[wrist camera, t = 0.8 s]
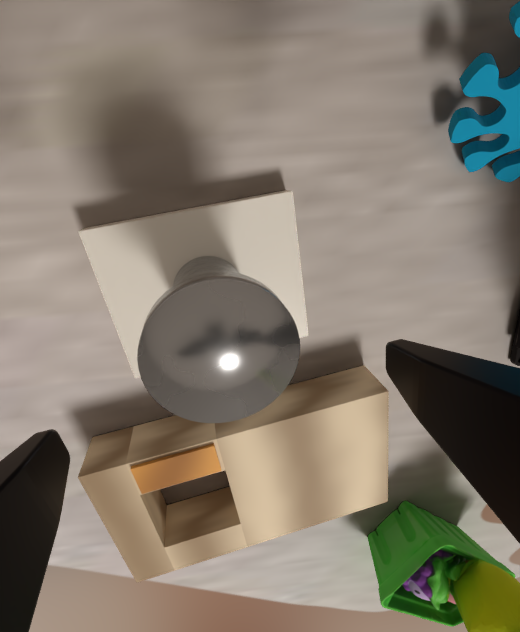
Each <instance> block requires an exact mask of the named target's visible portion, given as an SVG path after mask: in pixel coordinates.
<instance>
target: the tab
mask: <svg viewBox="0 0 520 632" xmlns="http://www.w3.org/2000/svg"><path fill="white" fill-rule="evenodd" d="M79 235H80V237H81V240H82V242H83V245H84V248H85V250H86V253H87V255H88V258H89V261H90V263H91V266H92V268H93V271H94V273H95V276H96V279H97V281H98V284H99V286H100V289H101V292H102V294H103V297H104V299H105V302H106V305H107V307H108V310H109V312H110V315H111V318H112V320H113V323H114V325H115V328H116V330H117V333H118V336H119V338H120V341H121V343H122V346H123V349H124V351H125V354H126V356H127V359H128V362H129V364H130V367H131V369H132V372H133V374H134V377H135V378H139V377H141V376H140V373H139V369H138V361H137V353H138V345H139V340H140V336H141V333H142V329H143V326H144V323H145V320H146V317H147V315H148V313H149V312H150V310H151V308H152V307H153V305H154V304H155V302H156V301H157V300H158V299H159V298H160V297H161V296H162V295H163V294H164V293H165V292H166V291H167V290H168V289H170V288H171V287H172V286H173V283H174V279H175V277H176V275H177V273H178V271H179V270H180V269H181V268H182V267H183V266H184V265H185V264H186V263H187V262H189V261H191V260H192V259H195V258H198V257H202V256H215V257H219V258H222V259H224V260H226V261H228V262H229V263H231V264H232V265H233V266H234V267H235V268H236V269H237V270H238V272H239V274H242V275H246V276H248V277H251V278H254V279H256V280H257V281H259V282H261V283H263V284H264V285H265V286H267V287H268V288H269V289H271V290H272V291H273V292H274V293H275V294H276V295H277V297H278V298H279V299H280V301H281V302H282V303H283V304H284V306H285V307H286V308H287V310H288V311H289V312H290V314H291V316H292V318H293V319H294V321H295V324H296V327H297V329H298V333H299V338H301V337H305V336H309V334H308V325H307V316H306V307H305V298H304V289H303V280H302V271H301V262H300V253H299V244H298V235H297V226H296V217H295V208H294V199H293V191H288V190H285V191H279V192H274V193H269V194H263V195H258V196H253V197H247V198H242V199H237V200H231V201H226V202H221V203H215V204H210V205H205V206H199V207H194V208H189V209H184V210H178V211H173V212H168V213H162V214H157V215H152V216H146V217H141V218H136V219H130V220H125V221H120V222H114V223H109V224H104V225H98V226H93V227H88V228H85V229H83V230H81V231H79Z"/></svg>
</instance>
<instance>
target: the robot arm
mask: <svg viewBox="0 0 520 632" xmlns="http://www.w3.org/2000/svg"><path fill="white" fill-rule="evenodd" d="M510 361H511V362H512V363H513V364H515V365H517V366H520V311H519V316H518V321H517V327H516V332H515V337H514V343H513V348H512V353H511V359H510ZM386 370H387V373H388V375H389V377H390V378H391V380H392V381H393V383H394V385H395V386H396V388H397V389H398V391H399V392H400V394H401V395H402V397H403V398H404V400H405V401H406V403H407V404H408V406H409V407H410V409H411V410H412V412H413V413H414V415H415V416H416V418H417V419H418V420H419V421H420V423H421V424H422V425H423V426H424V428H425V429H426V430H427V431H428V433H429V434H430V435H431V436H432V437H433V439H434V440H435V441H436V442H437V444H438V445H439V446H440V447H441V448H442V450H443V451H444V452H445V453H446V454H447V456H448V457H449V458H450V459H451V461H452V462H453V463H454V464H455V465H456V467H457V468H458V469H459V470H460V472H461V473H462V474H463V475H464V476H465V478H466V479H467V480H468V481H469V482H470V484H471V485H472V486H473V487H474V489H475V490H476V491H477V492H478V493H479V495H480V496H481V497H482V498H483V500H484V501H485V502H486V503H487V504H488V506H489V507H490V508H491V509H492V510H493V512H494V513H495V514H496V515H497V517H498V518H499V519H500V520H501V521H502V523H503V524H504V525H505V526H506V528H507V529H508V530H509V531H510V532H511V534H512V535H513V536H514V537H515V538H516V540H517V541H518V542H519V543H520V368H516V367H512V366H508V365H504V364H500V363H496V362H492V361H488V360H484V359H480V358H476V357H472V356H468V355H464V354H460V353H456V352H451V351H447V350H443V349H439V348H435V347H431V346H427V345H423V344H419V343H415V342H411V341H407V340H403V339H399V340H395V341H391V342H388V343H387V345H386ZM69 464H70V455H69V452H68V450H67V448H66V447H65V445H64V443H63V441H62V439H61V438H60V436H59V434H58V432H57V431H55V430H53V429H51V430H47V431H43V432H39V433H36V434H34V435H33V436H32V437H30V438H29V439H28V440H27V441H25V442H24V443H23V444H22V445H20V446H19V447H18V448H16V449H15V450H14V451H13V452H11V453H10V454H9V455H8V456H6V457H5V458H4V459H3V460H1V461H0V632H29V629H30V625H31V622H32V618H33V614H34V611H35V607H36V604H37V600H38V597H39V593H40V590H41V586H42V583H43V579H44V575H45V572H46V568H47V565H48V561H49V558H50V554H51V551H52V547H53V544H54V540H55V536H56V533H57V529H58V525H59V521H60V516H61V511H62V505H63V499H64V493H65V488H66V482H67V476H68V470H69Z"/></svg>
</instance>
